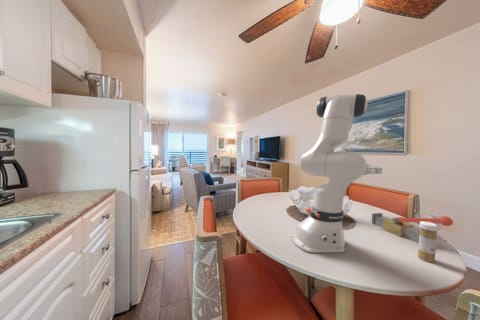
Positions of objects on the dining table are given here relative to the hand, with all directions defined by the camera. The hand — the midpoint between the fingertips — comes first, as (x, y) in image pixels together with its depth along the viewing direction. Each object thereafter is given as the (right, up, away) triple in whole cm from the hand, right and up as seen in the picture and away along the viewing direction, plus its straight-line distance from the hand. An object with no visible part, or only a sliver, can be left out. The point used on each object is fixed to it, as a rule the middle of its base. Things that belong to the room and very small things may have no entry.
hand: (376, 171), depth 95 cm
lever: (+4, -23, -9) cm, 25 cm away
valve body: (+4, -29, -8) cm, 31 cm away
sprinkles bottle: (-5, -30, -30) cm, 43 cm away
